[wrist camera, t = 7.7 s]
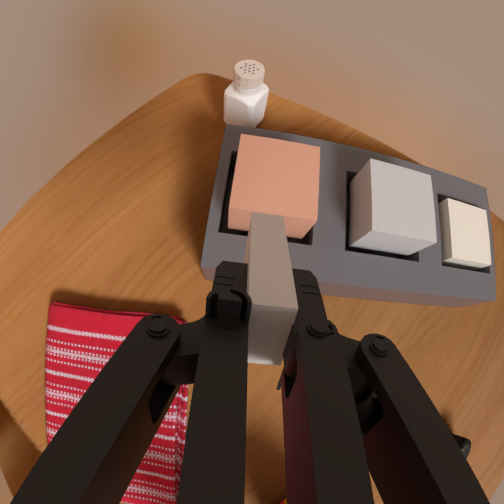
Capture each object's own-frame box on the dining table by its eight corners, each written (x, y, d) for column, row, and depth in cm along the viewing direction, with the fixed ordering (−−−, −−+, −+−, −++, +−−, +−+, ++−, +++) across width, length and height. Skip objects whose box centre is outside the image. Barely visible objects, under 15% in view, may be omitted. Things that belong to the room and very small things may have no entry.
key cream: (461, 223, 33) (486, 210, 29) (464, 273, 32) (491, 265, 27) (423, 213, 33) (447, 197, 28) (425, 267, 31) (452, 257, 27)
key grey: (405, 195, 30) (430, 175, 25) (407, 255, 28) (436, 242, 23) (349, 182, 29) (370, 158, 25) (348, 246, 28) (372, 230, 23)
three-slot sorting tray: (452, 207, 38) (485, 187, 30) (457, 307, 34) (495, 300, 27) (225, 161, 36) (226, 124, 29) (205, 279, 33) (200, 266, 25)
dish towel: (195, 318, 32) (192, 317, 30) (184, 508, 26) (182, 519, 24) (55, 297, 31) (43, 294, 28) (55, 475, 25) (46, 482, 23)
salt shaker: (239, 104, 38) (244, 52, 29) (265, 118, 38) (275, 66, 29) (221, 123, 37) (222, 71, 28) (248, 138, 37) (255, 86, 28)
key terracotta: (306, 174, 29) (320, 146, 24) (301, 239, 28) (317, 220, 23) (238, 163, 29) (240, 133, 24) (227, 228, 27) (228, 207, 22)
